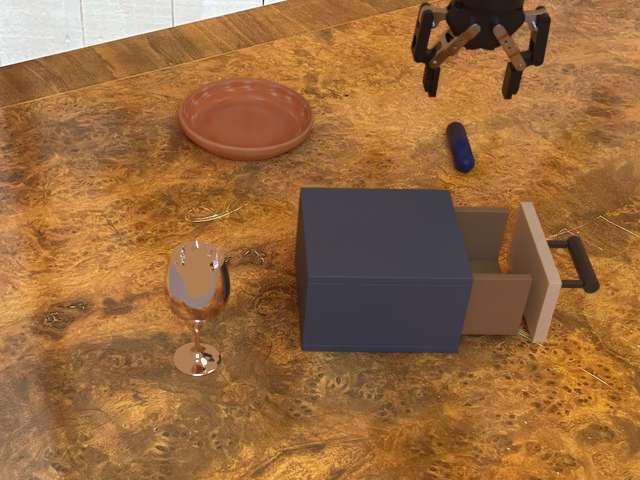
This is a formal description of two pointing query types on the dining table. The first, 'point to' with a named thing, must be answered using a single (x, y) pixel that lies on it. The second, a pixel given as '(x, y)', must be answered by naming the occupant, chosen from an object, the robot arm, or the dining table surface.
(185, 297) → the wineglass
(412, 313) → the cabinet
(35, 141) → the dining table surface
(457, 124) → the blue capsule
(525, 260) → the drawer
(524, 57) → the robot arm
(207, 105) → the saucer
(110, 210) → the dining table surface
